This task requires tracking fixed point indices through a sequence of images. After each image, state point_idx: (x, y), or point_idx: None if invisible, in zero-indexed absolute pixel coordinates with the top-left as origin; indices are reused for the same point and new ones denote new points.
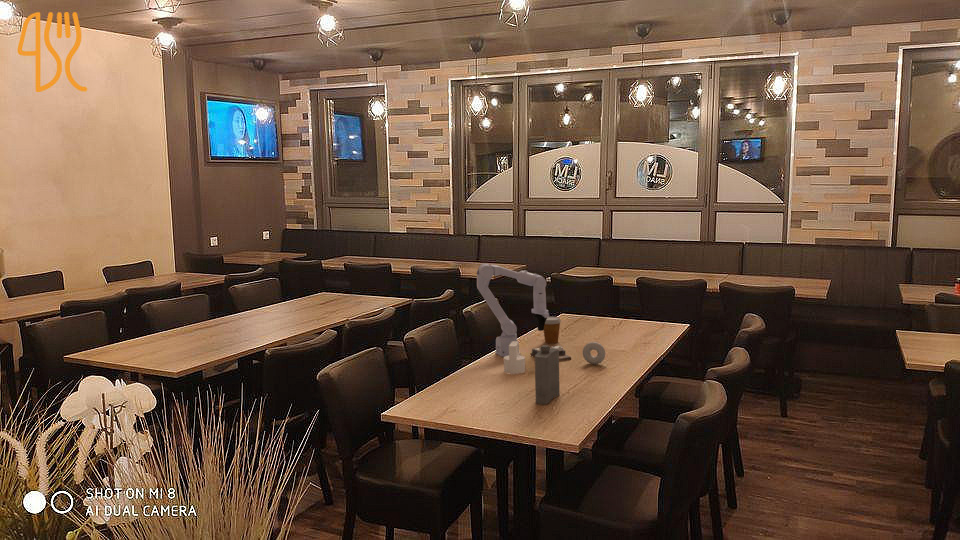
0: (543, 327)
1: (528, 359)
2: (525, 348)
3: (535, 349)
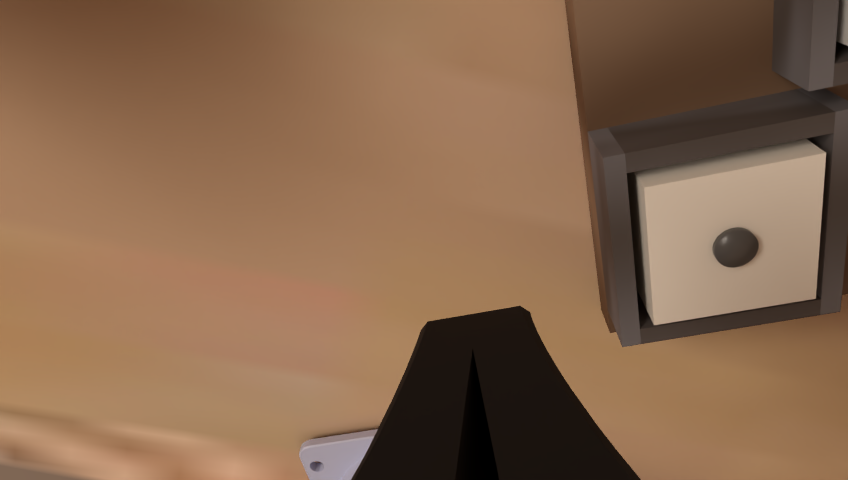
0: (558, 379)
1: (783, 368)
2: (151, 282)
3: (699, 313)
